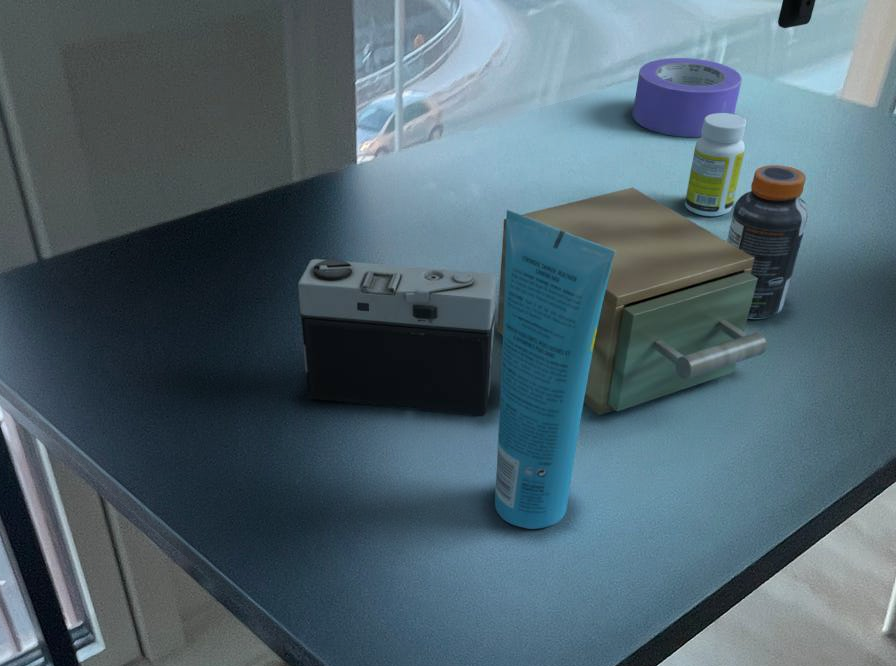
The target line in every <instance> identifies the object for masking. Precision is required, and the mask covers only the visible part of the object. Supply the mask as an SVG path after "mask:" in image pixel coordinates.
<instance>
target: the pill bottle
mask: <svg viewBox="0 0 896 666" xmlns="http://www.w3.org/2000/svg"><path fill="white" fill-rule="evenodd" d="M805 183H806V174H805V173H804V172H803V171H801V170H800V169H798V168H795V167H792V166H786V165H779V164H778V165H776V164H771V165H764V166H761V167H760V166H759V167H758V168H757V169H756V170H755V171H754V174H753V178H752V182H751V185H750V187H751V190H750V191H747V192H746V193H743V195H741V196H740V197H739V198H738V199H737V200H736V202H735V204H734V207H733V212H732V216H731V220H730V225H729V230H728V234H727V239H726V241H727V242H728V243H730V244H732V245H734V246H735V247H737V248H739V249H741V250H742V251H744V252H746V253H748V254H749V255H751V256H753V257H754V262H753V266H752V270H751V274H752V275H753V276H755V277H757V278H758V279H757V283H756V287H755V291H754V295H753V299H752V303H751V307H750V310H749V314H748V318H747V320H748V319H750V320H762V319H767V318H770V317H773V316H776V315H778V314H780V312H781V311H782V310H783V308H784V305H785V302H786V298H787V295H788V291H789V287H790V283H791V280H792V276H793V273H794V269H795V266H796V263H797V259H798V258H797V257H798V254H799V251H800V247H801V244H802V240H803V236H804V232H805V229H806V224H807V221H808V218H809V208H808V205H807V203H806V202H805V200H803V199H802V198H801V195H802V194H803V192H804V187H805Z"/></svg>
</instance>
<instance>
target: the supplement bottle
mask: <svg viewBox="0 0 896 666" xmlns="http://www.w3.org/2000/svg"><path fill="white" fill-rule="evenodd" d="M746 126H747V121H746V119H745V118H744V117H742V116H740V115H738V114H735V113H734V114H728V113H715V114H710V115H708V116H706V117H705V119H704V123H703V127H702V137H698V139H697V141H696V142H695V146H694V150H693V151H694V152H693V156H692V161H691V168H690V173H689V178H688V184H687V189H686V195H685V201H684V205H685V207H686V209H687V210H689V211H690V212H692V213H694V214H697V215H700V216H705V217H718V216H723V215H726V214H728V213H730V212H731V210H732V209H733V206H734V200H735V198H736V191H737V187H738V184H739V179H740V173H741V168H742V164H743V160H744V155H745V150H746V145H745V141H743V139H744V135H745V131H746Z"/></svg>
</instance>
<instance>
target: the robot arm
mask: <svg viewBox="0 0 896 666" xmlns="http://www.w3.org/2000/svg"><path fill="white" fill-rule="evenodd" d="M816 1H817V0H782V2H781V3H782V4H781V7H780V11H779V15H778V20H777V24H778V27H780V28H782V29H789V28H794V27H800V26H804V25H808V24H809V23H810V21H811V19H812V16H813V12H814V8H815V5H816Z"/></svg>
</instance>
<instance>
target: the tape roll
mask: <svg viewBox="0 0 896 666" xmlns="http://www.w3.org/2000/svg"><path fill="white" fill-rule="evenodd" d="M742 79H743V77H742V76H741V74H740V73H739V72H738V71H737V70H735V69H734V68H733V67H730V66H728V65H725V64H723V63H719V62H715V61H712V60H706V59H699V58H693V57H691V58H690V57H670V58H661V59H656V60H652V61H649V62H647V63H645V64H643V65H642V66H641V67H640V68H639V72H638V78H637V84H636V90H635V96H634V103H633V109H632V118H633V120H634V121H635V122H636V123H637V124H638V125H640V126H641V127H643V128H645V129H647V130H649V131H653V132H655V133H659V134H663V135H667V136H673V137H683V138H700V137H702V127H703V123H704V119H705V117H706V116H708V115H710V114H715V113H728V114H734V115H735V112H736V107H737V104H738V98H739V95H740V90H741V85H742V81H743V80H742Z"/></svg>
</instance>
